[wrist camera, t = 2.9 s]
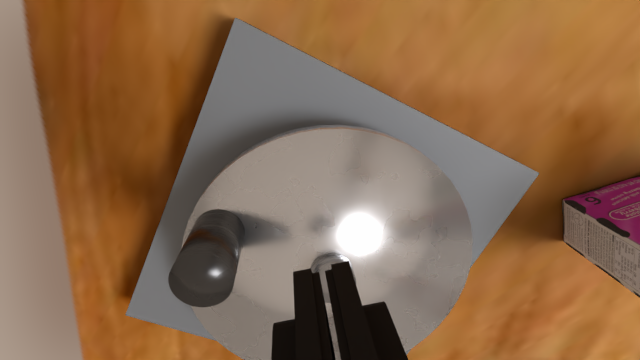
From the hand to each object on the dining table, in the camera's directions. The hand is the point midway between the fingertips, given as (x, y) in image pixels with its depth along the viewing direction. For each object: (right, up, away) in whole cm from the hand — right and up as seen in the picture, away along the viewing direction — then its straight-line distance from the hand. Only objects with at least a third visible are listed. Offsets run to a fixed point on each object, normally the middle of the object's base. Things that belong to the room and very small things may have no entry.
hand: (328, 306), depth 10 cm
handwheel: (0, -2, +16) cm, 16 cm away
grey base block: (0, 0, +19) cm, 19 cm away
